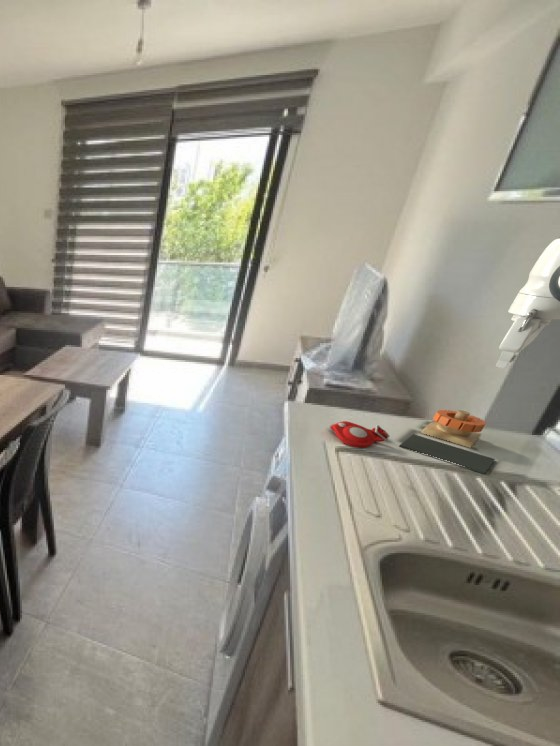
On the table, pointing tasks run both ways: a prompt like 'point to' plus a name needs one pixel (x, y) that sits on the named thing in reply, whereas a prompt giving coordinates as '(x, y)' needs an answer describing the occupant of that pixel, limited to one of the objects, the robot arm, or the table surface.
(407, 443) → the mat
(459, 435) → the stand
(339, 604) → the table surface
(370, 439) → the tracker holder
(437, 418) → the ring
